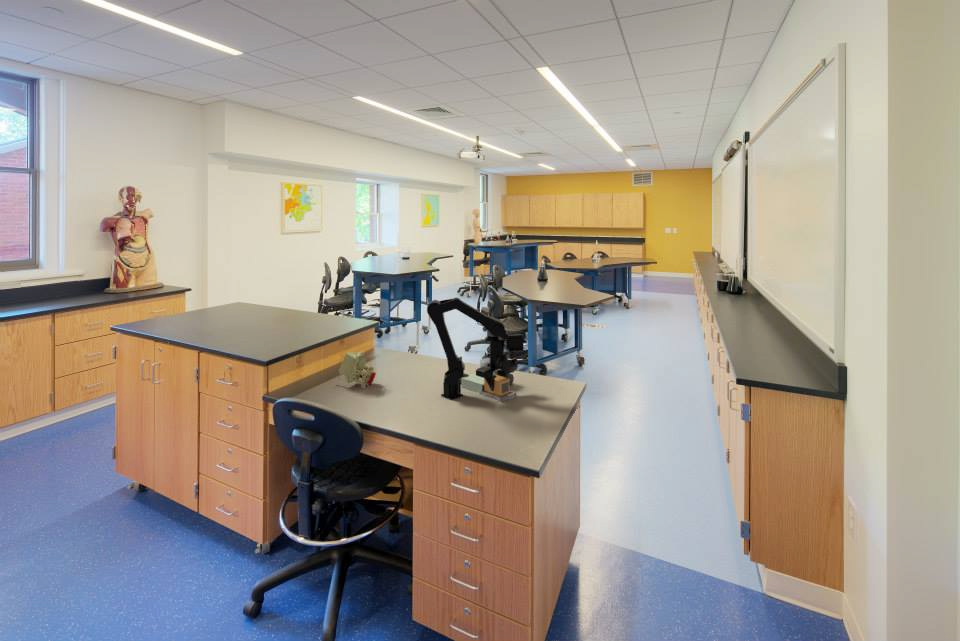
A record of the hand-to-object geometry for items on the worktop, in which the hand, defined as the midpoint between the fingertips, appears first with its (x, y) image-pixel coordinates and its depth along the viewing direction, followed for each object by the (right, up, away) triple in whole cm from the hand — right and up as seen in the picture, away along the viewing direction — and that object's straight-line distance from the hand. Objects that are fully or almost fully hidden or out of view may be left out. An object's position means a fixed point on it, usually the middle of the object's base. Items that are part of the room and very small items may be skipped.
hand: (496, 389), depth 197 cm
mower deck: (-4, 0, +13) cm, 13 cm away
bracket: (0, -3, 0) cm, 3 cm away
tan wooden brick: (0, -1, 0) cm, 1 cm away
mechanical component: (-57, -1, +14) cm, 58 cm away
